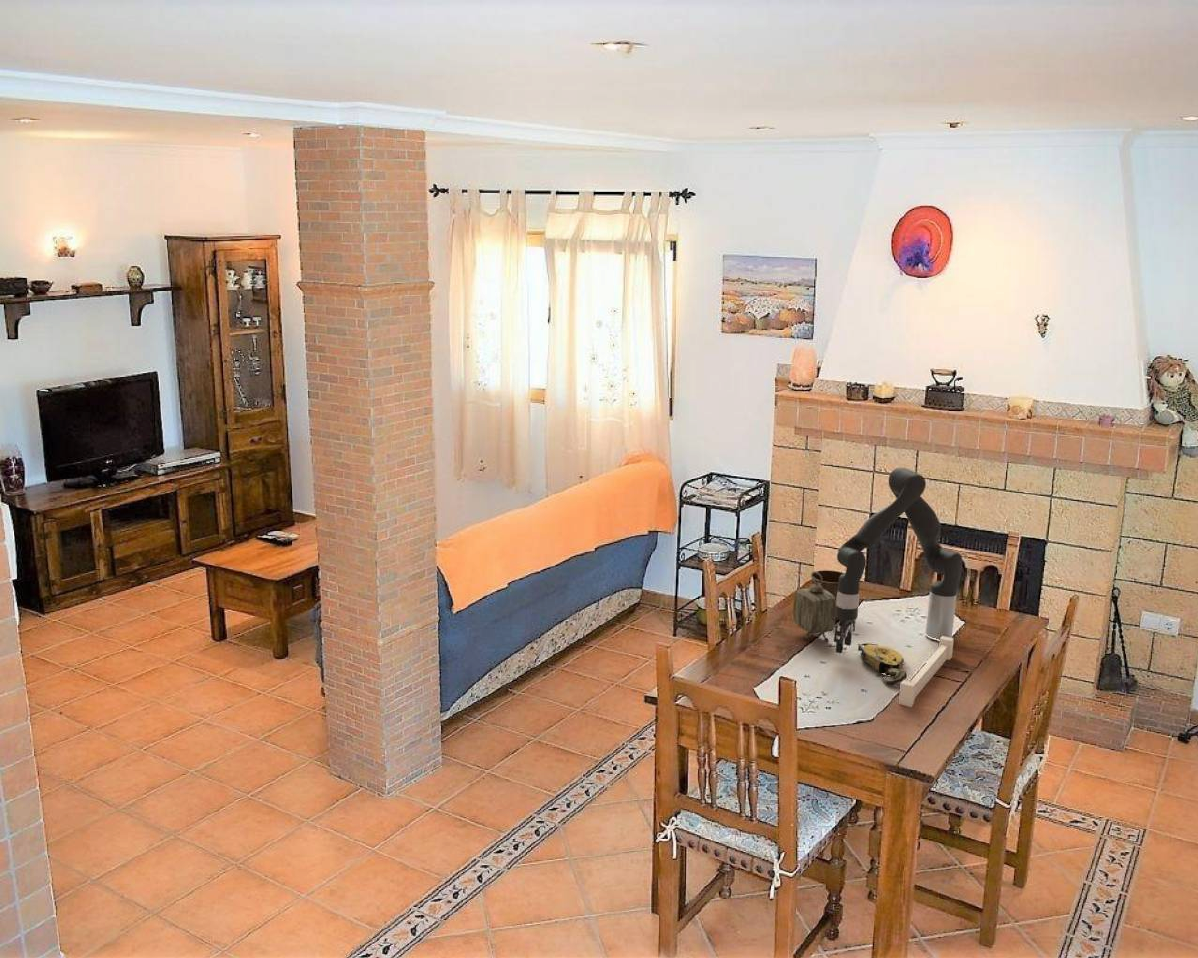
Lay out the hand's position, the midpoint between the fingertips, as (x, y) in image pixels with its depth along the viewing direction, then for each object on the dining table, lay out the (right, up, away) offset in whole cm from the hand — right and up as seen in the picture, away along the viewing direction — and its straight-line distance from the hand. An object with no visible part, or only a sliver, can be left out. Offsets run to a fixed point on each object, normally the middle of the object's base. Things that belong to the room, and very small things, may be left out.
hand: (843, 648), depth 376 cm
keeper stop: (+25, -8, -14) cm, 29 cm away
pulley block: (+13, -7, -7) cm, 16 cm away
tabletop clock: (-7, +1, +19) cm, 21 cm away
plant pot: (+4, +6, +41) cm, 42 cm away
